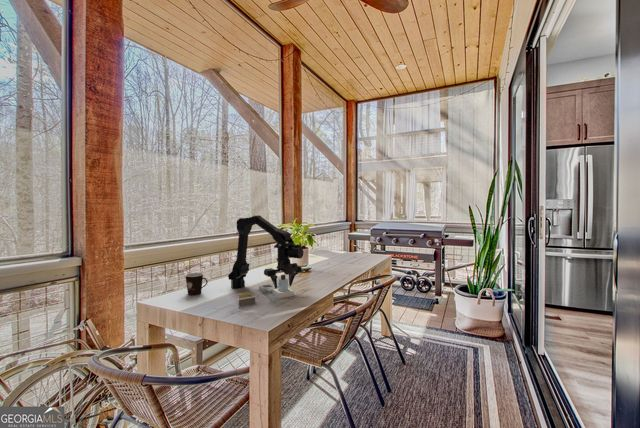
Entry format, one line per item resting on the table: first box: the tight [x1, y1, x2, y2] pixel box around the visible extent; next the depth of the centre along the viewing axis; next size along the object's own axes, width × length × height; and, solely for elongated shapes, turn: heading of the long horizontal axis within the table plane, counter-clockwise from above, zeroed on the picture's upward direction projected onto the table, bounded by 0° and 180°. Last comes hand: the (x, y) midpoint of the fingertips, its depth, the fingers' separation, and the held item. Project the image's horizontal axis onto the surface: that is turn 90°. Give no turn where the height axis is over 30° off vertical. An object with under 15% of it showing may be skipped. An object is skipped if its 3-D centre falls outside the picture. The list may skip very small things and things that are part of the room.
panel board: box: [255, 285, 299, 302], centre depth 157 cm, size 14×22×1 cm, turn 33°
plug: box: [278, 274, 289, 292], centre depth 154 cm, size 3×3×10 cm
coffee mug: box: [184, 272, 209, 297], centre depth 158 cm, size 12×9×10 cm
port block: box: [273, 287, 295, 298], centre depth 154 cm, size 8×8×3 cm
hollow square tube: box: [258, 283, 275, 293], centre depth 160 cm, size 6×6×2 cm
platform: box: [236, 291, 259, 309], centre depth 141 cm, size 12×18×7 cm, turn 125°
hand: (283, 287), depth 154 cm, fingers open, 8 cm apart
